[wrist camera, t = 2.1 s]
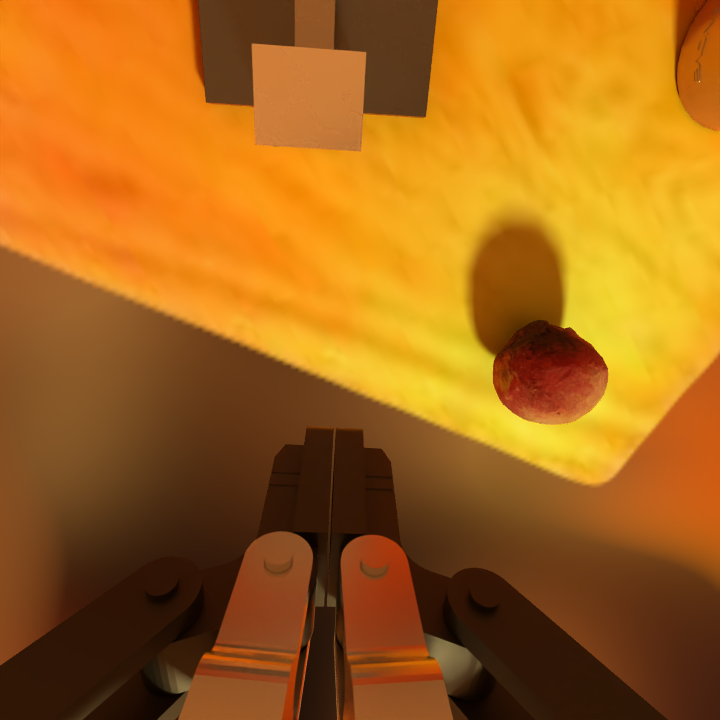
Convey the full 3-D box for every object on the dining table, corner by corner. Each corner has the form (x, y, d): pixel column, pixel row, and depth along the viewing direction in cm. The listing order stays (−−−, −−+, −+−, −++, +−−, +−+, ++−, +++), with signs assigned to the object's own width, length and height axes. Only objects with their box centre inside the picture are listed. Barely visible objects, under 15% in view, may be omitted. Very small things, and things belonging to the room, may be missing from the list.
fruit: (492, 401, 42) (525, 457, 34) (471, 327, 38) (501, 372, 31) (578, 372, 41) (630, 424, 33) (564, 294, 37) (617, 332, 30)
